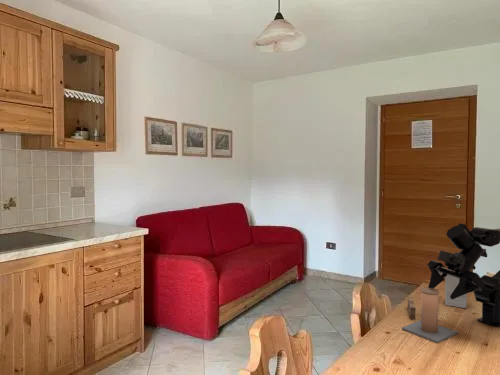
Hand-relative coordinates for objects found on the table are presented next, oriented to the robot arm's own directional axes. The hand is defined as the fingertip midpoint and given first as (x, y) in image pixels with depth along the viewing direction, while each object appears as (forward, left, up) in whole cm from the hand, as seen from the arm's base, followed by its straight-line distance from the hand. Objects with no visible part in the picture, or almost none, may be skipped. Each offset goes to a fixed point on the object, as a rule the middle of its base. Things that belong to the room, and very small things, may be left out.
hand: (439, 293), depth 120 cm
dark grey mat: (+4, -1, -12) cm, 13 cm away
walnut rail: (-6, -14, -12) cm, 19 cm away
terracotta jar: (+4, -1, -11) cm, 12 cm away
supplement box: (-29, -9, -12) cm, 33 cm away
